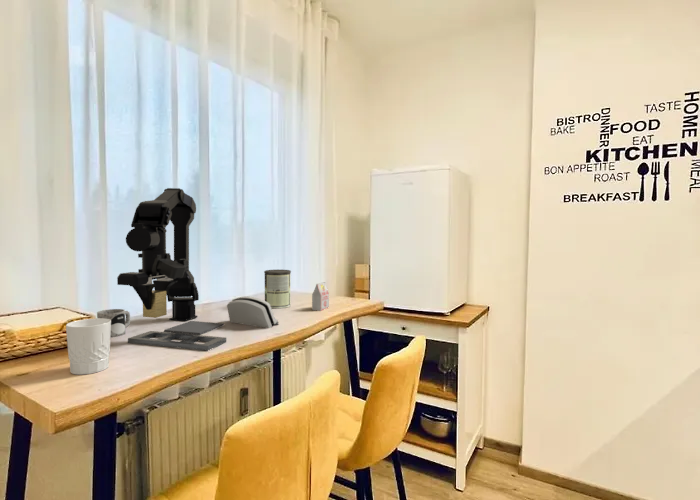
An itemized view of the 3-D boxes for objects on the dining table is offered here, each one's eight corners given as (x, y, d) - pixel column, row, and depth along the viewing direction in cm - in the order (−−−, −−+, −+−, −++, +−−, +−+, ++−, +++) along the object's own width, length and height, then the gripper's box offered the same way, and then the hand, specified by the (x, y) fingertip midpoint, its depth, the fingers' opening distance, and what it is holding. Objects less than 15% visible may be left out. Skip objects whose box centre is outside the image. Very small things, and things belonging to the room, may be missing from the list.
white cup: (81, 363, 86) (80, 318, 85) (119, 362, 86) (118, 318, 86) (57, 376, 78) (56, 327, 77) (99, 375, 78) (98, 326, 78)
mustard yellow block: (142, 316, 102) (142, 292, 102) (154, 313, 106) (153, 290, 106) (155, 317, 101) (155, 293, 101) (166, 314, 105) (166, 290, 105)
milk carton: (312, 310, 147) (312, 283, 146) (320, 307, 153) (320, 281, 152) (320, 311, 145) (320, 284, 145) (328, 307, 151) (329, 282, 151)
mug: (112, 338, 106) (111, 314, 105) (91, 337, 107) (91, 313, 107) (139, 329, 115) (138, 307, 115) (119, 328, 117) (119, 306, 116)
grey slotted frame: (127, 342, 101) (127, 338, 101) (151, 335, 109) (150, 330, 109) (207, 350, 95) (207, 346, 95) (226, 342, 103) (226, 337, 103)
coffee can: (259, 305, 154) (259, 270, 153) (281, 302, 161) (281, 268, 160) (273, 309, 146) (273, 272, 146) (295, 306, 154) (296, 270, 153)
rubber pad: (164, 331, 113) (164, 329, 113) (191, 322, 124) (191, 320, 124) (199, 335, 110) (199, 332, 110) (224, 325, 121) (224, 323, 121)
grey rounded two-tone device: (280, 324, 123) (273, 296, 119) (270, 332, 119) (263, 304, 116) (240, 318, 131) (233, 292, 127) (230, 326, 127) (222, 299, 123)
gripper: (153, 252, 92) (154, 317, 93) (202, 249, 110) (202, 303, 111) (115, 251, 95) (116, 314, 95) (169, 248, 113) (169, 301, 113)
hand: (154, 308), depth 104 cm, fingers closed on mustard yellow block, 4 cm apart
